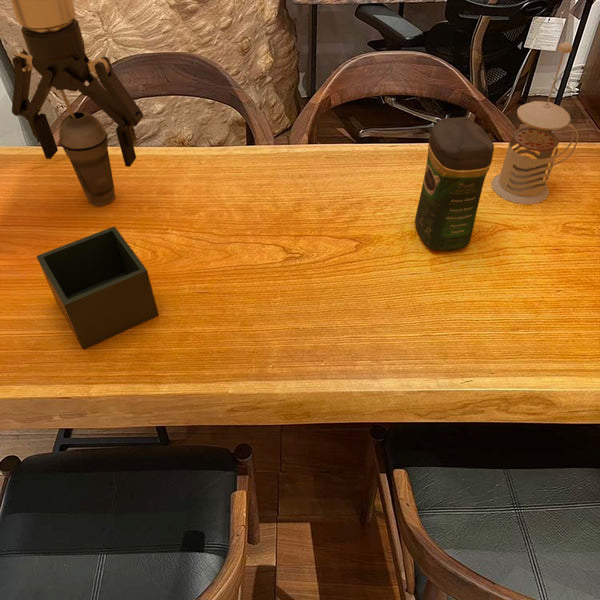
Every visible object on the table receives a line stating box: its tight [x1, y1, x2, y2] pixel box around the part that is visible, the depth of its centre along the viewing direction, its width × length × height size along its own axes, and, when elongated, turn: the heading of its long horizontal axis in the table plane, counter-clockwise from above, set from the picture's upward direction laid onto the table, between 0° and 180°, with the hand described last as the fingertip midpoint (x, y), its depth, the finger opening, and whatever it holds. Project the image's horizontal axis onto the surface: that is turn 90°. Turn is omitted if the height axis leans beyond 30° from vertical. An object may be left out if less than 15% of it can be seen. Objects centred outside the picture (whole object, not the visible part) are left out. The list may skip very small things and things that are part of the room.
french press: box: [491, 41, 579, 205], centre depth 93 cm, size 10×12×25 cm
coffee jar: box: [414, 116, 495, 253], centre depth 87 cm, size 10×8×19 cm
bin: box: [36, 226, 160, 350], centre depth 79 cm, size 11×11×9 cm
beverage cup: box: [58, 89, 116, 207], centre depth 93 cm, size 7×7×20 cm
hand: (91, 158), depth 94 cm, fingers open, 13 cm apart
